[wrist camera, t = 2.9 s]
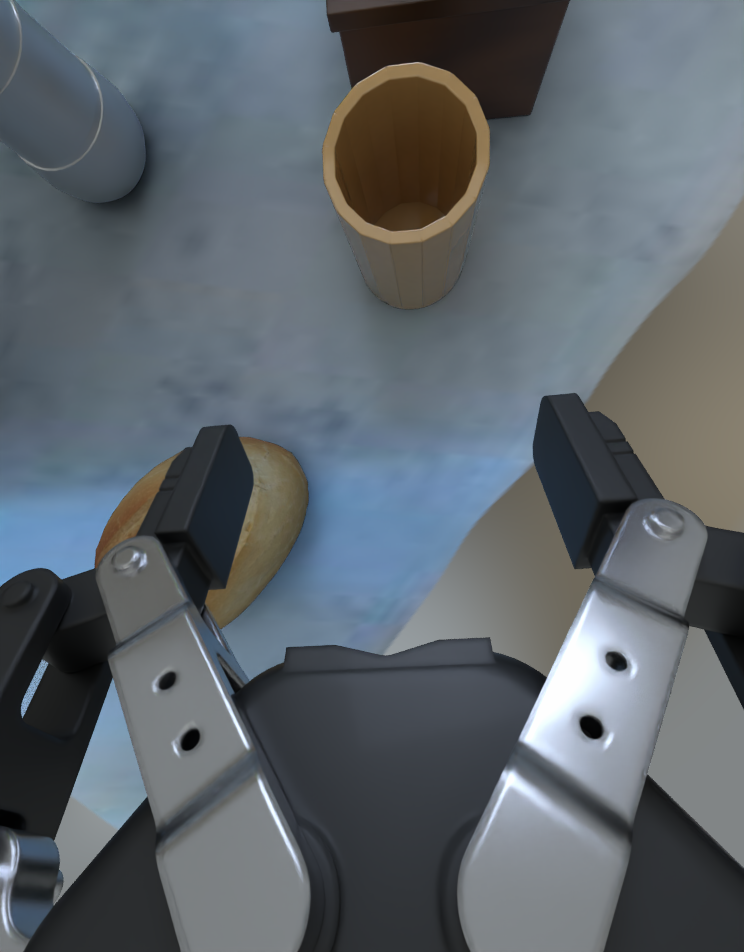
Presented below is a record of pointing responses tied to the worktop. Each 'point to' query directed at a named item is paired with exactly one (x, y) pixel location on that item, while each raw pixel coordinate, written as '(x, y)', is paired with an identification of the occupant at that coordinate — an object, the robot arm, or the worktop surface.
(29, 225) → the worktop surface
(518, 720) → the robot arm
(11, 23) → the plastic bottle
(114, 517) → the bread roll
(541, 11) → the box
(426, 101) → the cup
